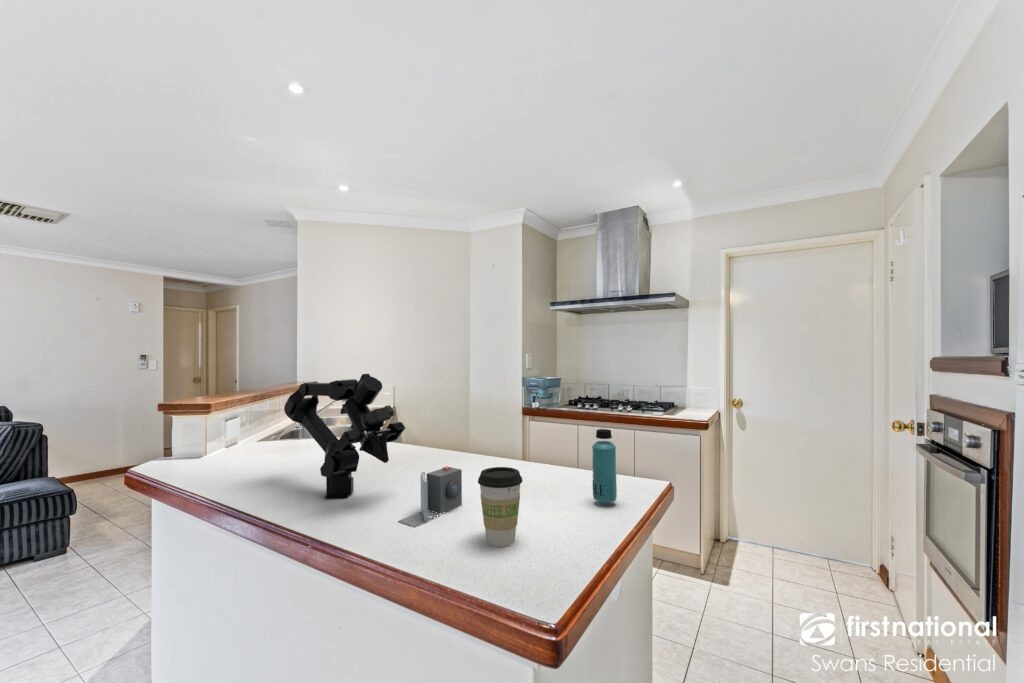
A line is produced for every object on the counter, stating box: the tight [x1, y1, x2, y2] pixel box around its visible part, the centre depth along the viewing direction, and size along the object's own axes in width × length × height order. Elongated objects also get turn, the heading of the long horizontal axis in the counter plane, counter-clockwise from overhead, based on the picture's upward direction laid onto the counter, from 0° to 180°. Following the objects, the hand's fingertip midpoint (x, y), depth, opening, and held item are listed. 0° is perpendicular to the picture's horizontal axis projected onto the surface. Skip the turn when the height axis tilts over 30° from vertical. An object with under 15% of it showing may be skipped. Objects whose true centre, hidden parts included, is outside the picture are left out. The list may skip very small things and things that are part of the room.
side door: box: [420, 471, 429, 522], centre depth 113 cm, size 1×9×9 cm, turn 18°
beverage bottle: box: [591, 428, 618, 503], centre depth 120 cm, size 6×7×20 cm
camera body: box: [398, 465, 463, 528], centre depth 114 cm, size 6×17×10 cm, turn 144°
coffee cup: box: [477, 466, 523, 548], centre depth 98 cm, size 10×10×15 cm
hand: (386, 461), depth 117 cm, fingers closed
